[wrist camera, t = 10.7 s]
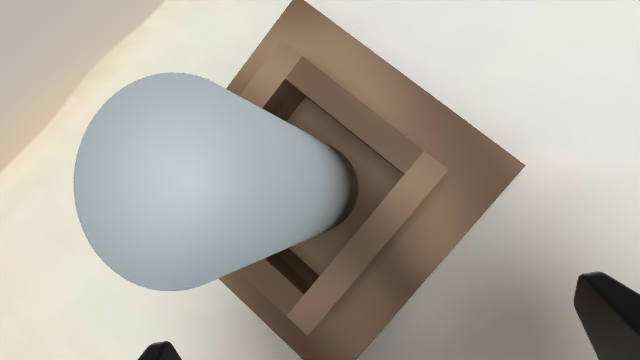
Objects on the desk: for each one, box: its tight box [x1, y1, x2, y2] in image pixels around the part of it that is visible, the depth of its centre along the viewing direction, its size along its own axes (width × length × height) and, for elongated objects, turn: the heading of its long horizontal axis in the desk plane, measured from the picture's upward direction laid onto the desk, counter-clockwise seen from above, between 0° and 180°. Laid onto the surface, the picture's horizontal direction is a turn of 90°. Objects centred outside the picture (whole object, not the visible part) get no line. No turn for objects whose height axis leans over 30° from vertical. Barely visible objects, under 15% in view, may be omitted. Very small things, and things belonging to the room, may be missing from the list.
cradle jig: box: [219, 0, 525, 360], centre depth 21 cm, size 14×14×5 cm
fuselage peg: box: [74, 73, 358, 291], centre depth 15 cm, size 4×4×13 cm
